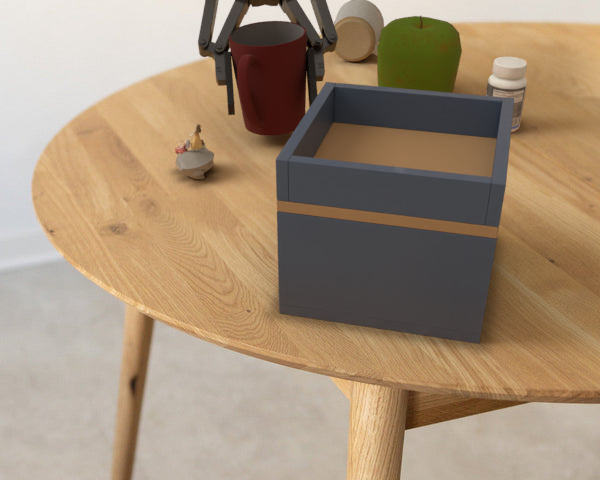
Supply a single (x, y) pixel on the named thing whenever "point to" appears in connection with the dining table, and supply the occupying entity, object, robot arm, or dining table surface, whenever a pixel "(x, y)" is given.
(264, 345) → the dining table surface
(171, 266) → the dining table surface
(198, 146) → the figurine
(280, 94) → the mug
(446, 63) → the apple
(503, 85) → the pill bottle
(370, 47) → the ceramic mug
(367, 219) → the box
